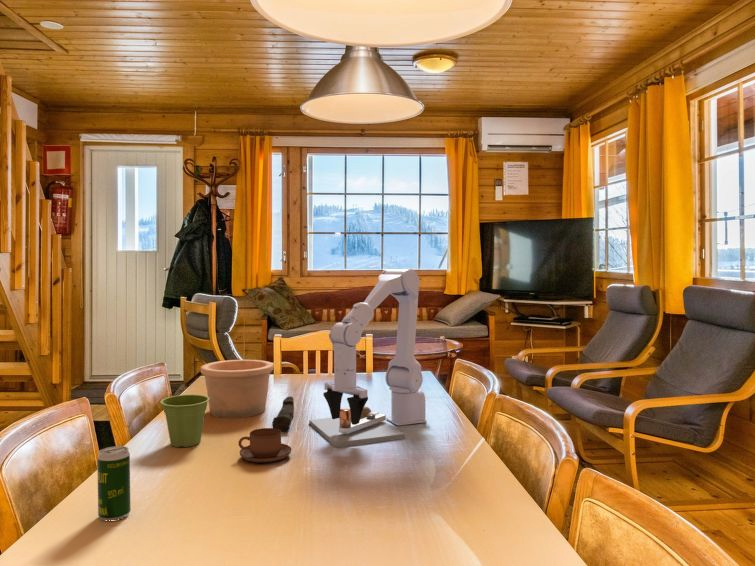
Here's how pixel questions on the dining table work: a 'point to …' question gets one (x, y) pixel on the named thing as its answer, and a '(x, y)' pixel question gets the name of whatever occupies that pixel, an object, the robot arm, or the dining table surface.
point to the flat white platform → (355, 432)
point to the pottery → (237, 387)
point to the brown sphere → (365, 412)
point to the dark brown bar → (284, 415)
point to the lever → (371, 419)
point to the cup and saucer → (264, 446)
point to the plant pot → (185, 418)
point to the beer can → (113, 483)
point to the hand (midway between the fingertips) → (345, 421)
